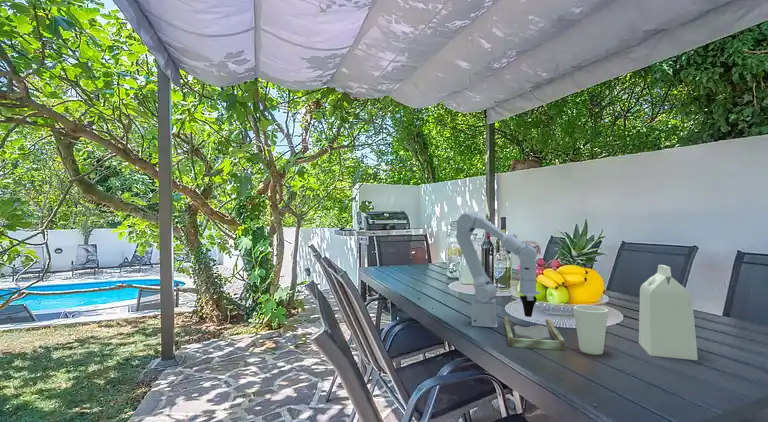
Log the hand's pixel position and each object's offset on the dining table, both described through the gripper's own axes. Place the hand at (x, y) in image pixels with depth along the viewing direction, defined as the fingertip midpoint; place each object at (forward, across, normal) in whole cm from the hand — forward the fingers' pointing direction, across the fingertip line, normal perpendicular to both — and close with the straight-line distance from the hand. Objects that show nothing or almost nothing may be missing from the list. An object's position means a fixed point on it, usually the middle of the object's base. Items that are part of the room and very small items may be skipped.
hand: (528, 316), depth 139 cm
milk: (+5, -14, -38) cm, 41 cm away
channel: (+5, -6, 0) cm, 8 cm away
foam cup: (+5, -19, -16) cm, 26 cm away
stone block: (+5, -11, 0) cm, 13 cm away
